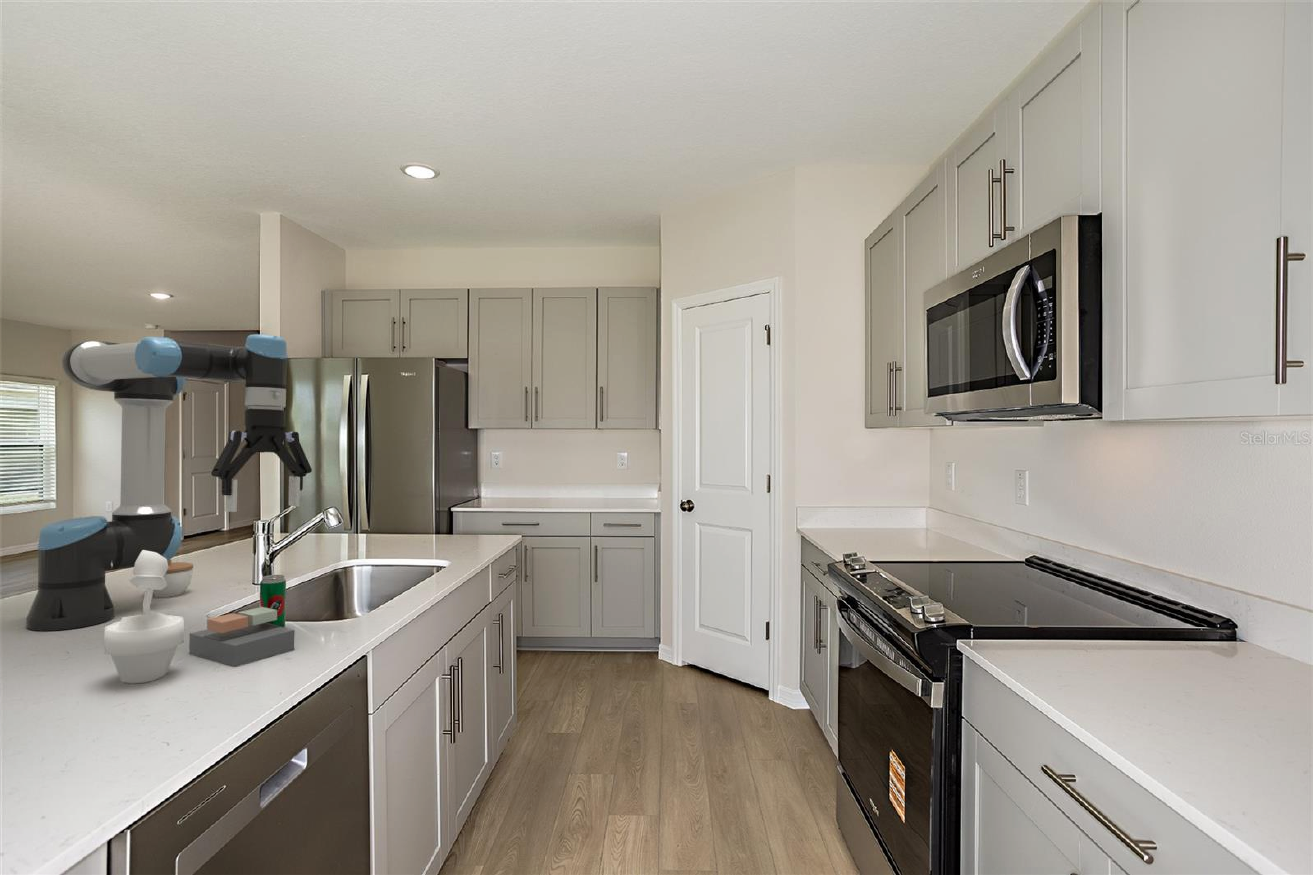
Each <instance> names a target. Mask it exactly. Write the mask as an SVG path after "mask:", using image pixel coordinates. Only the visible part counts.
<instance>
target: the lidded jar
mask: <svg viewBox="0 0 1313 875" xmlns="http://www.w3.org/2000/svg"><path fill="white" fill-rule="evenodd" d="M167 562H168V567H169V568H168V570H167V571H166V573H165V575H164V577H163V578H164V579H165V581H166V583H167V586H166V587H165V588H163V589H162V590H153V595H152V596H154V597H155V598H171V597H170V596H172V597H175V596H174V595H178V596H181V595H183V592H184V591H185V590H187V589H188V588H189V586H190V584H191V582H192V578H193V572H194V571H193V568H194V564H193V563H192V562H184V561H183V562H181V561H179V562H178V561H177V562H172V559H170V560H169V561H167ZM185 592H186V591H185ZM180 594H181V595H180Z"/></svg>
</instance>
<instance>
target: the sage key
mask: <svg viewBox="0 0 1313 875" xmlns="http://www.w3.org/2000/svg"><path fill="white" fill-rule="evenodd" d="M237 614H239V615H243V616H247V617H248V624H249V625H257V624H261V623H266V622H270V621H274V620H277V610H274V609H270V608H265V607H260V606H259V607H256V608H252V609H247V610H242V611H238V612H237Z"/></svg>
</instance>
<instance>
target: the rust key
mask: <svg viewBox="0 0 1313 875" xmlns="http://www.w3.org/2000/svg"><path fill="white" fill-rule="evenodd" d="M245 627H248V617H247V616H243V615H239V614H238V613H233V612H232V613H228V614H223V615H219V616H215V617H210V618H207V619H206V630H207V629H208V630H212V631H216V632H220V633H224V632H228V631H233V630H237V629H241V628H245Z"/></svg>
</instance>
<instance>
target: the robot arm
mask: <svg viewBox="0 0 1313 875" xmlns="http://www.w3.org/2000/svg"><path fill="white" fill-rule="evenodd" d="M287 349H288V348H287V341H286V340H285V338H283V337H281V336H277V335H272V334H271V335H270V334H256V333H255V334H250V335H248V336H247V338H246V341H245V345H244V346H232V345H231V346H230V345H224V344H214V343H206V342H195V341H187V340H182V339H175V338H174V339H173V338H170V337H165V336H163V337H161V336H146V337H143V338H142V339H141V341H139V342H138V341H137V342H129V343H128V342H127V343H120V342H119V343H118V342H111V341H109V342H108V341H97V340H95V341H82V342H78V343H76V344H74V345H71V347H69V348H68V349H67V350H66V351H65V352H64V354H63V356H62V360H61V363H62V369H63V372H64V373H65V375H66V376H67V377H68V379H69V380H71V381H72V382H74V383H75V384H77V385H79V386H81V387H83V388H86V389H89V390H94V391H98V392H99V391H101V392H110V393H111V392H112V393H113V395H114V396H113V400H114V401H115V402H116V403H117V404H118V405H119V406H120V407H121V441H120V442H121V444H120V445H121V447H120V450H121V451H120V452H121V453H120V495H119V496H120V498H119V499H120V501H119V502H120V505H119V506H118V507H117V508H116V509H114V510H113V511H112V515H111V520H110V521H108V520H107V518H106V517H105V516H100V515H99V516H98V515H97V516H95V515H94V516H92V515H91V516H86V517H75V518H68V519H63V520H60V521H59V520H58V521H55V522H52V523H49V524H47V525H45V526H43V527H42V528H41V530H40V531H39V540H38V544H37V550H38V551H37V552H38V555H37V556H38V557H37V559H38V566H37V574H38V576H37V593H36V596H35V598H34V600H33V602H32V605H31V607H30V608H29V611H28V613H27V617H26V629H28V630H32V631H39V632H40V631H43V632H44V631H45V632H46V631H63V630H64V631H65V630H72V629H79V628H85V627H90V626H94V625H98V624H102V623H105V622H108V621H110V620H112V619H113V618H114V617H115V606H114V603H113V600H112V598H111V596H110V594H109V591H108V588H107V586H106V573H107V572H109V571H118V570H124V569H130V568H134V565H135V562H136V560H137V558H138V556H139V555H140V553H141V552H142V550H146V551H151V552H156V553H158V554H160V555H161V556H163V557H164V558H166V559H167V561H169V560H172V559H173V558H174V556H175V555H177V553H178V551H179V550H180V546H181V544H182V540H183V529H182V528H183V527H182V526H181V522H180V519H178V517H176V516H173V515H172V508H171V509H170V507H168V506H167V505H166V504H165V469H166V467H165V464H166V463H165V462H166V460H165V457H166V455H165V454H166V453H165V452H166V409H167V408H168V407H169V406H170V405H171V404H173V403H174V397H175V396H178V395H179V394H181V392H183V388H184V386H185V384H186V383H185V382H186V378H187V379H188V378H190V379H192V378H193V379H200V380H201V379H202V380H212V381H213V380H215V381H220V382H224V383H232V384H235V383H239V382H240V383H241V382H242V383H243V382H245V383H244V385H245V389H244V392H245V394H244V398H245V399H244V406H245V407H247V409H246V408H245V410H244V426H245V431H244V432H243V431H240V430H230V431H229V432H228V437H227V438H228V439H227V442H226V444H225V446H224V448H223V450H222V452H221V454H220V455H219V457H218V459H217V461H216V463H215V465H214V467H213V469H212V471H211V473H210V474H211V476H212V477H216V478H219V479H220V480H221V494H222V496H225V498H224V499H225V500H224V501H225V502H224V503H225V504H224V510H225V511H224V512H229V513H235V512H236V513H237V512H238V479H234V477H235V476H236V475H238V473H239V472H240V471H241V470H242V469H243V467H244V466H245V465H246V463H247V462H248V461H249V460H250V459H251V458H252V457H253V456H254V455H256V454H257V453H274V454H275V455H276V456H277V457H278V458H279V459H280V461H281V462H282V463H283V464H284V465H285V467H286V468H287V469H288V470H289V472H290V473H291V475H289V476H288V506H289V507H300V505H301V504H300V499H301V498H300V497H301V496H300V494H301V493H300V491H301V492H302V491H303V488H304V487H303V486H304V484H303V483H304V477H306V476H307V474H310V473H312V471H313V469H312V467H311V465H310V463H309V461H308V460H309V459H308V457H307V456H306V453H305V451H304V449H303V446H302V445H301V442H300V434H299V432H298V431H288V432H285V427H286V422H287V421H286V417H287V416H286V415H287V413H286V412H287V411H285V410H283V408H286V403H287V402H286V400H287V376H288V375H287V374H288V373H287V368H288V357H289V356H288V354H287V353H288V352H287ZM244 440H245V444H244V446H243V447H242V448H241V450H240V452H239V453H238V454H237V456H236V457H235V455H236V453H237V451H238V449H239V447H240V445H241V443H243V441H244ZM285 441H286V442H287V445H288V447H289V449H290V452H291V454H292V455H291V454H290V452H289V451H288V448H287V447H286V446H285V444H284V442H285ZM234 457H235V458H234ZM123 550H124V552H123ZM111 563H112V564H113V566H111Z"/></svg>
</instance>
